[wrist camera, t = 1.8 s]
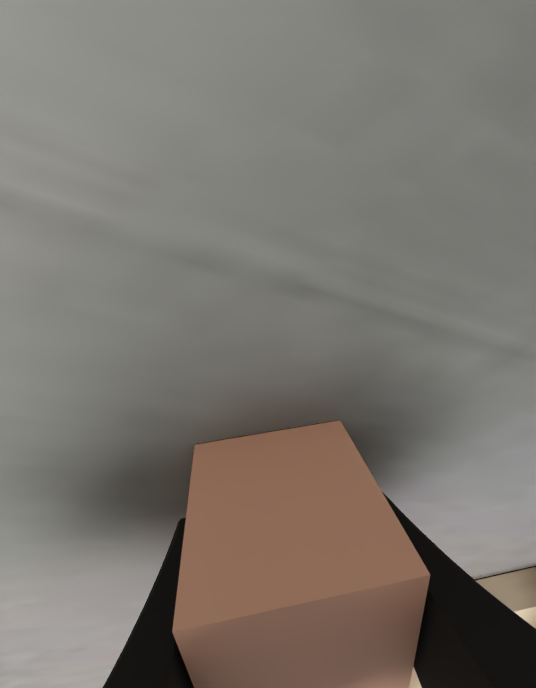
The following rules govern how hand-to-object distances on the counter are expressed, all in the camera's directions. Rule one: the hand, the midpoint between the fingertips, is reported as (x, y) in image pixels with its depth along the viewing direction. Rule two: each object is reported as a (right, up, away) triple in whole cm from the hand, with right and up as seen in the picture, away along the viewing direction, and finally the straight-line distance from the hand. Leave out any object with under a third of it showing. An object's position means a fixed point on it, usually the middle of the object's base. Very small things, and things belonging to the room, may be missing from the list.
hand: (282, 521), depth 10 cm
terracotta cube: (0, 0, +1) cm, 1 cm away
